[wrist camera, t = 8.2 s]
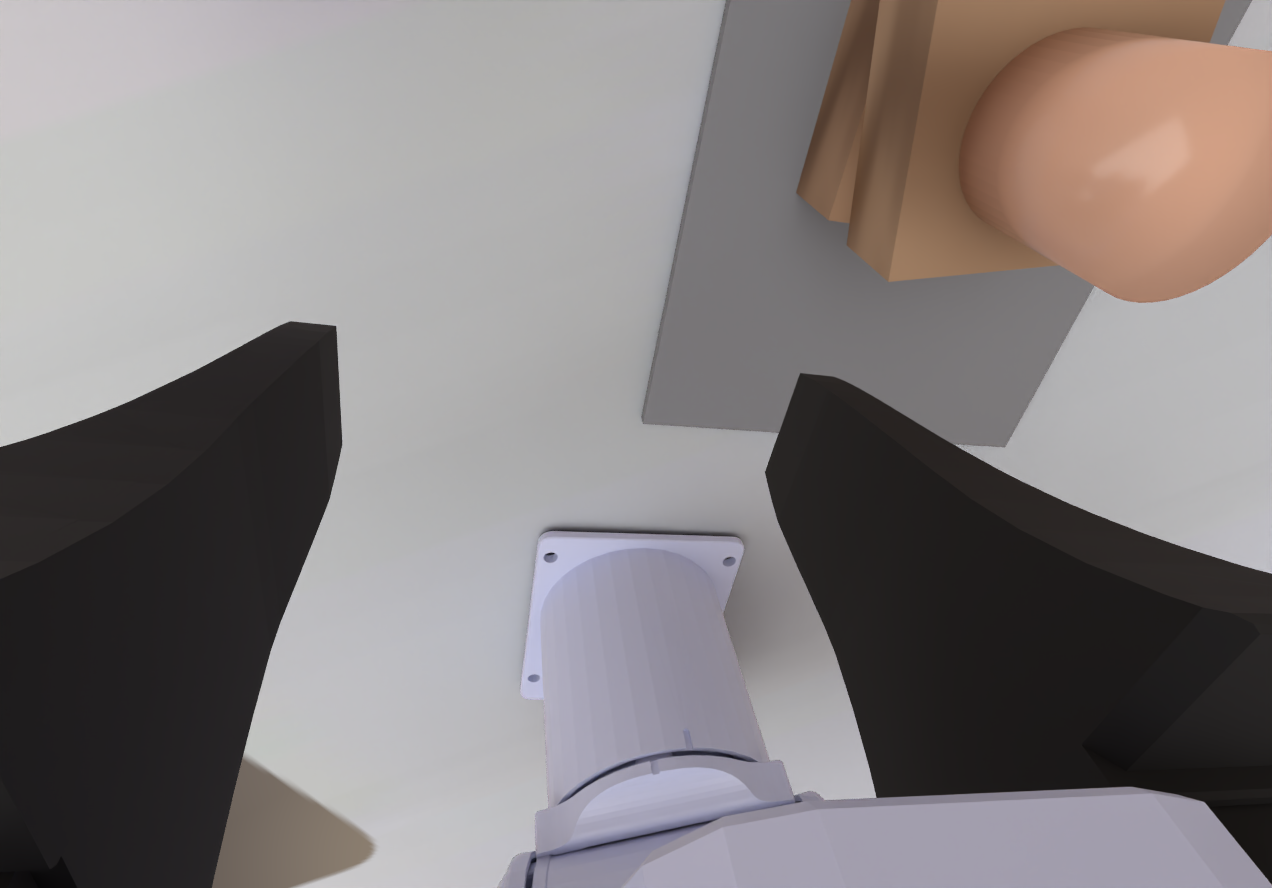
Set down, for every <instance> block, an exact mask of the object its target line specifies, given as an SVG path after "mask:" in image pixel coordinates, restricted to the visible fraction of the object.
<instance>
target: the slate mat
mask: <svg viewBox="0 0 1272 888" xmlns="http://www.w3.org/2000/svg"><path fill="white" fill-rule="evenodd" d="M1251 1H1252V0H1226V1H1225V3H1224V6H1223V9H1222V11H1221V14H1220V17H1219V19H1218V22H1217V25H1216V27H1215V30H1214V33H1213V35H1212V38H1211V41H1210V43H1212V44H1220V45H1228V43H1229V41H1230V39H1231V38H1232V36H1233V34H1234V32H1235V30H1236V29H1237V27H1238V25H1239V23H1240V21H1241V20H1242V18H1243V16H1244V14H1245V12H1246V11H1247V9H1248V7H1249V5H1250V3H1251ZM850 2H851V0H726V5H725V10H724V15H723V20H722V25H721V29H720V34H719V39H718V44H717V49H716V54H715V59H714V64H713V69H712V74H711V79H710V83H709V88H708V93H707V98H706V103H705V108H704V113H703V118H702V123H701V128H700V133H699V137H698V142H697V147H696V152H695V157H694V162H693V167H692V172H691V177H690V182H689V187H688V191H687V196H686V201H685V206H684V211H683V216H682V221H681V226H680V231H679V236H678V241H677V245H676V250H675V255H674V260H673V265H672V270H671V275H670V280H669V285H668V290H667V295H666V300H665V304H664V309H663V314H662V319H661V324H660V329H659V334H658V339H657V344H656V349H655V354H654V358H653V363H652V368H651V373H650V378H649V383H648V388H647V393H646V398H645V403H644V408H643V412H642V421H643V424H655V425H671V426H686V427H701V428H717V429H732V430H747V431H763V432H778V433H779V431H780V428H781V426H782V423H783V420H784V417H785V414H786V411H787V409H788V406H789V403H790V400H791V397H792V394H793V392H794V389H795V386H796V383H797V380H798V377H799V375H800V373H804V374H814V375H824V376H834V377H836V378H839V379H841V380H844V381H846V382H848V383H850V384H852V385H854V386H856V387H858V388H860V389H861V390H863V391H865V392H867V393H868V394H870V395H872V396H874V397H875V398H877V399H879V400H880V401H882V402H884V403H885V404H887V405H889V406H890V407H892V408H894V409H895V410H897V411H899V412H900V413H902V414H904V415H905V416H907V417H908V418H910V419H912V420H913V421H915V422H917V423H918V424H920V425H922V426H923V427H925V428H926V429H928V430H930V431H931V432H933V433H935V434H936V435H938V436H940V437H941V438H943V439H945V440H947V441H948V442H950V443H952V444H962V445H978V446H993V447H1005V446H1006V445H1007V443H1008V441H1009V439H1010V437H1011V435H1012V434H1013V432H1014V430H1015V428H1016V426H1017V425H1018V423H1019V421H1020V419H1021V417H1022V416H1023V414H1024V412H1025V410H1026V408H1027V407H1028V405H1029V403H1030V401H1031V399H1032V398H1033V396H1034V394H1035V392H1036V390H1037V388H1038V387H1039V385H1040V383H1041V381H1042V379H1043V378H1044V376H1045V374H1046V372H1047V370H1048V369H1049V367H1050V365H1051V363H1052V361H1053V360H1054V358H1055V356H1056V354H1057V352H1058V350H1059V349H1060V347H1061V345H1062V343H1063V341H1064V340H1065V338H1066V336H1067V334H1068V332H1069V331H1070V329H1071V327H1072V325H1073V323H1074V322H1075V320H1076V318H1077V316H1078V314H1079V313H1080V311H1081V309H1082V307H1083V305H1084V303H1085V302H1086V300H1087V298H1088V296H1089V294H1090V293H1091V291H1092V289H1093V287H1094V285H1093V284H1091V283H1089V282H1087V281H1086V280H1084V279H1082V278H1080V277H1079V276H1077V275H1075V274H1074V273H1072V272H1070V271H1068V270H1067V269H1065V268H1063V267H1061V266H1060V265H1057V266H1047V267H1037V268H1026V269H1016V270H1006V271H995V272H985V273H975V274H965V275H954V276H944V277H934V278H923V279H913V280H903V281H893V282H888V281H887V280H886V279H884V278H883V277H882V276H881V275H880V274H879V273H878V272H876V271H875V270H874V269H873V268H872V267H871V266H870V265H868V264H867V263H866V262H865V261H864V260H863V259H862V258H861V257H859V256H858V255H857V254H856V253H855V252H854V251H853V250H851V249H850V248H849V247H848V246H847V238H848V231H849V223H844V222H837V221H829V220H827V219H826V218H825V217H824V216H823V215H821V214H820V213H819V212H818V211H817V210H816V209H814V208H813V207H812V206H811V205H810V204H809V203H807V202H806V201H805V200H804V199H803V198H802V197H800V196H799V195H798V194H797V193H796V191H797V188H798V184H799V181H800V177H801V174H802V170H803V167H804V163H805V160H806V156H807V153H808V149H809V146H810V142H811V139H812V135H813V132H814V128H815V125H816V121H817V118H818V114H819V111H820V107H821V104H822V100H823V97H824V93H825V90H826V86H827V83H828V79H829V76H830V72H831V69H832V65H833V62H834V58H835V55H836V51H837V48H838V44H839V41H840V37H841V34H842V30H843V27H844V23H845V20H846V16H847V13H848V9H849V6H850Z"/></svg>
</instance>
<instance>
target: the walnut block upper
mask: <svg viewBox="0 0 1272 888" xmlns="http://www.w3.org/2000/svg"><path fill="white" fill-rule="evenodd" d="M1225 1H1226V0H880V3H879V11H878V18H877V25H876V33H875V40H874V47H873V55H872V62H871V69H870V77H869V84H868V91H867V99H866V106H865V113H864V121H863V128H862V135H861V143H860V150H859V157H858V165H857V172H856V179H855V187H854V194H853V201H852V209H851V216H850V223H849V231H848V238H847V246H848V247H849V248H850V249H851V250H853V251H854V252H855V253H856V254H857V255H858V256H859V257H861V258H862V259H863V260H864V261H865V262H866V263H867V264H868V265H870V266H871V267H872V268H873V269H874V270H875V271H876V272H878V273H879V274H880V275H881V276H882V277H883V278H884V279H886V280H887V281H888V282H893V281H903V280H913V279H923V278H934V277H944V276H954V275H965V274H975V273H985V272H995V271H1006V270H1016V269H1026V268H1037V267H1047V266H1057V265H1058V264H1056V263H1054V262H1053V261H1051V260H1049V259H1048V258H1046V257H1044V256H1042V255H1041V254H1039V253H1037V252H1035V251H1034V250H1032V249H1030V248H1028V247H1027V246H1025V245H1023V244H1022V243H1020V242H1018V241H1016V240H1015V239H1013V238H1011V237H1009V236H1008V235H1006V234H1004V233H1002V232H1001V231H999V230H997V229H995V228H994V227H992V226H990V225H989V224H987V223H985V222H984V221H982V220H981V219H980V218H979V217H977V216H976V214H975V213H974V212H973V211H972V210H971V208H970V207H969V205H968V203H967V202H966V200H965V197H964V195H963V192H962V189H961V184H960V179H959V155H960V149H961V143H962V139H963V136H964V132H965V129H966V126H967V124H968V121H969V119H970V116H971V114H972V112H973V110H974V108H975V107H976V105H977V103H978V101H979V99H980V98H981V96H982V95H983V93H984V92H985V90H986V88H987V87H988V86H989V85H990V83H991V82H992V81H993V80H994V78H995V77H996V76H997V75H998V74H999V73H1000V72H1001V70H1002V69H1003V68H1004V67H1005V66H1006V65H1007V64H1008V63H1009V62H1011V61H1012V60H1013V59H1014V58H1015V57H1016V56H1017V55H1019V54H1020V53H1021V52H1023V51H1024V50H1025V49H1027V48H1028V47H1030V46H1031V45H1033V44H1035V43H1036V42H1038V41H1040V40H1042V39H1044V38H1046V37H1048V36H1050V35H1053V34H1055V33H1058V32H1061V31H1065V30H1069V29H1074V28H1082V27H1087V28H1100V29H1108V30H1115V31H1123V32H1130V33H1138V34H1145V35H1153V36H1160V37H1168V38H1175V39H1183V40H1190V41H1197V42H1205V43H1210V41H1211V38H1212V35H1213V33H1214V30H1215V27H1216V25H1217V22H1218V19H1219V17H1220V14H1221V11H1222V9H1223V6H1224V3H1225Z"/></svg>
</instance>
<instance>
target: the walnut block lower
mask: <svg viewBox="0 0 1272 888" xmlns="http://www.w3.org/2000/svg"><path fill="white" fill-rule="evenodd" d="M879 3H880V0H851V2H850V6H849V9H848V13H847V16H846V20H845V23H844V27H843V30H842V34H841V37H840V41H839V44H838V48H837V51H836V55H835V58H834V62H833V65H832V69H831V72H830V76H829V79H828V83H827V86H826V90H825V93H824V97H823V100H822V104H821V107H820V111H819V114H818V118H817V121H816V125H815V128H814V132H813V135H812V139H811V142H810V146H809V149H808V153H807V156H806V160H805V163H804V167H803V170H802V174H801V177H800V181H799V184H798V188H797V191H796V193H797V194H798V195H799V196H800V197H802V198H803V199H804V200H805V201H806V202H807V203H809V204H810V205H811V206H812V207H813V208H814V209H816V210H817V211H818V212H819V213H820V214H821V215H823V216H824V217H825V218H826V219H827V220H829V221H837V222H844V223H850V216H851V209H852V201H853V194H854V187H855V179H856V172H857V165H858V157H859V150H860V143H861V135H862V128H863V121H864V113H865V106H866V99H867V91H868V84H869V77H870V69H871V62H872V55H873V47H874V40H875V33H876V25H877V18H878V11H879Z"/></svg>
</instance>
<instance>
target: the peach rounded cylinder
mask: <svg viewBox="0 0 1272 888" xmlns="http://www.w3.org/2000/svg"><path fill="white" fill-rule="evenodd" d="M959 179H960V184H961V189H962V192H963V195H964V197H965V200H966V202H967V203H968V205H969V207H970V208H971V210H972V211H973V212H974V213H975V214H976V216H977V217H979V218H980V219H981V220H982V221H984V222H985V223H987V224H989V225H990V226H992V227H994V228H995V229H997V230H999V231H1001V232H1002V233H1004V234H1006V235H1008V236H1009V237H1011V238H1013V239H1015V240H1016V241H1018V242H1020V243H1022V244H1023V245H1025V246H1027V247H1028V248H1030V249H1032V250H1034V251H1035V252H1037V253H1039V254H1041V255H1042V256H1044V257H1046V258H1048V259H1049V260H1051V261H1053V262H1054V263H1056V264H1058V265H1060V266H1061V267H1063V268H1065V269H1067V270H1068V271H1070V272H1072V273H1074V274H1075V275H1077V276H1079V277H1080V278H1082V279H1084V280H1086V281H1087V282H1089V283H1091V284H1093V285H1094V286H1096V287H1098V288H1100V289H1101V290H1103V291H1105V292H1106V293H1108V294H1110V295H1112V296H1114V297H1116V298H1119V299H1122V300H1126V301H1131V302H1138V303H1146V302H1158V301H1165V300H1169V299H1173V298H1177V297H1180V296H1183V295H1185V294H1188V293H1191V292H1193V291H1196V290H1198V289H1200V288H1202V287H1204V286H1206V285H1208V284H1210V283H1212V282H1213V281H1215V280H1217V279H1218V278H1220V277H1222V276H1223V275H1225V274H1226V273H1228V272H1229V271H1231V270H1232V269H1233V268H1235V267H1236V266H1238V265H1239V264H1240V263H1241V262H1243V261H1244V260H1245V259H1246V258H1248V257H1249V256H1250V255H1251V254H1252V253H1253V252H1255V251H1256V250H1257V249H1258V248H1259V247H1260V246H1261V245H1262V244H1263V243H1264V242H1265V241H1266V240H1267V239H1268V238H1269V237H1270V236H1271V235H1272V51H1265V50H1257V49H1250V48H1242V47H1235V46H1227V45H1220V44H1212V43H1205V42H1197V41H1190V40H1183V39H1175V38H1168V37H1160V36H1153V35H1145V34H1138V33H1130V32H1123V31H1115V30H1108V29H1100V28H1087V27H1082V28H1074V29H1069V30H1065V31H1061V32H1058V33H1055V34H1053V35H1050V36H1048V37H1046V38H1044V39H1042V40H1040V41H1038V42H1036V43H1035V44H1033V45H1031V46H1030V47H1028V48H1027V49H1025V50H1024V51H1023V52H1021V53H1020V54H1019V55H1017V56H1016V57H1015V58H1014V59H1013V60H1012V61H1011V62H1009V63H1008V64H1007V65H1006V66H1005V67H1004V68H1003V69H1002V70H1001V72H1000V73H999V74H998V75H997V76H996V77H995V78H994V80H993V81H992V82H991V83H990V85H989V86H988V87H987V88H986V90H985V92H984V93H983V95H982V96H981V98H980V99H979V101H978V103H977V105H976V107H975V108H974V110H973V112H972V114H971V116H970V119H969V121H968V124H967V126H966V129H965V132H964V136H963V139H962V143H961V149H960V155H959Z"/></svg>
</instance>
